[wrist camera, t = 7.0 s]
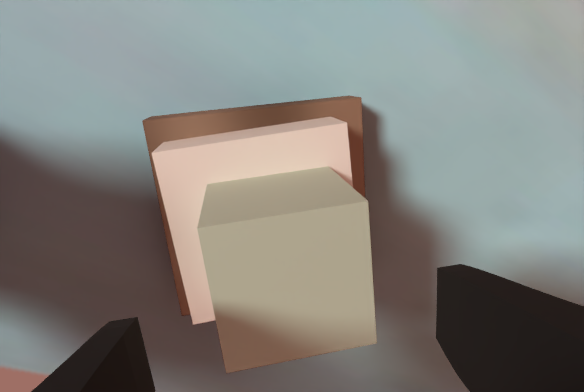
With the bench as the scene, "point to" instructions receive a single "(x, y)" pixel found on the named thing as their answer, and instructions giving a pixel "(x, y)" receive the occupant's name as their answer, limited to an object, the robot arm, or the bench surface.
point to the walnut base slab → (248, 118)
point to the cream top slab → (232, 166)
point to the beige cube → (287, 266)
